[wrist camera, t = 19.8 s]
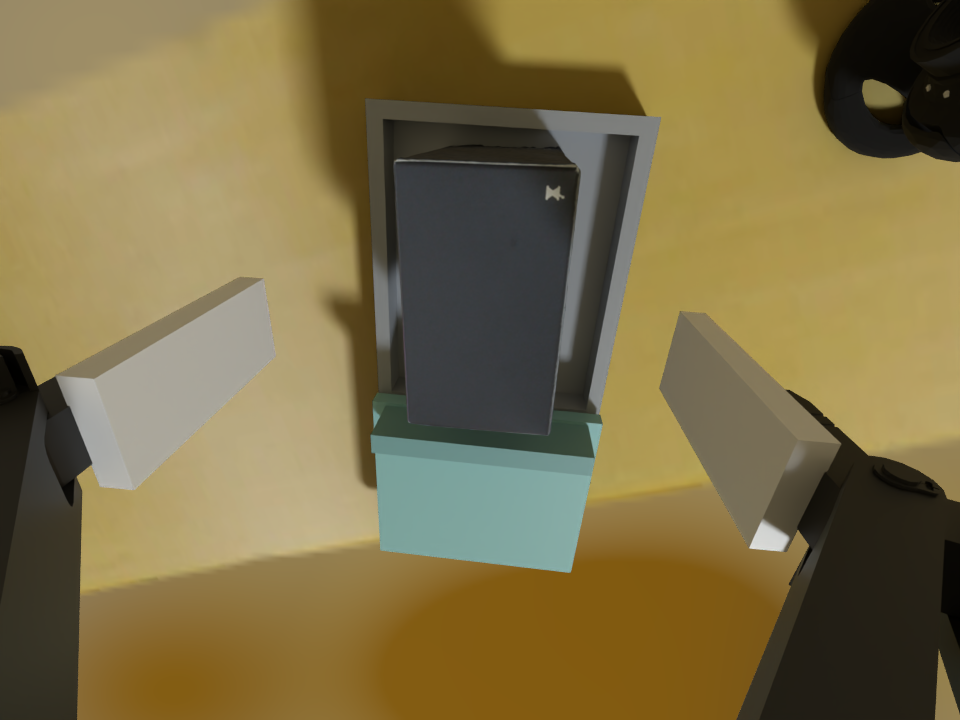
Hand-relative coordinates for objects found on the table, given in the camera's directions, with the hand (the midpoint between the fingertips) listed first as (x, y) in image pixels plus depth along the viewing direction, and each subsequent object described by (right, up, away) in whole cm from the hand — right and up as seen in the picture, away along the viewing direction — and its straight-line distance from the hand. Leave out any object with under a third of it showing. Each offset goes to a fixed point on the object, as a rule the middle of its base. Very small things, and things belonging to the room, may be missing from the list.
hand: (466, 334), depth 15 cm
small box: (+1, +6, +11) cm, 13 cm away
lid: (+1, -9, +16) cm, 18 cm away
